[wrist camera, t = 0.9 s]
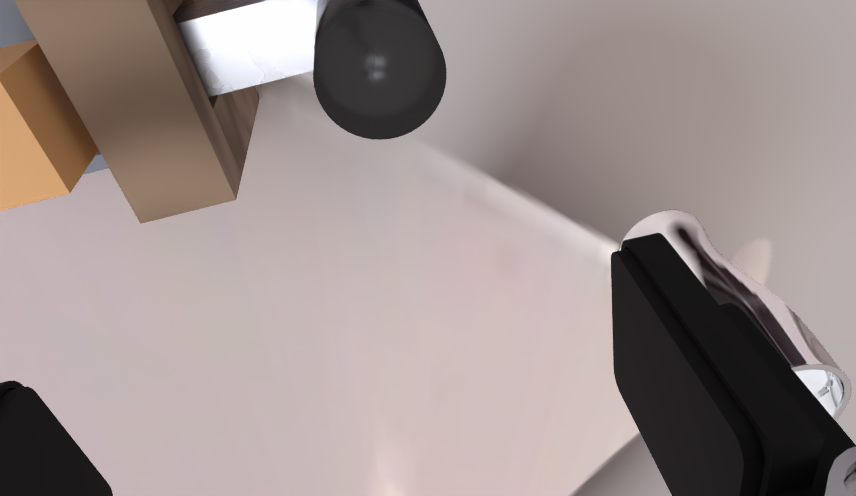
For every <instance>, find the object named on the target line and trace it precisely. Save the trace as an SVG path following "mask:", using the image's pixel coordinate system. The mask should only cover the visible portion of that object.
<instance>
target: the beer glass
mask: <svg viewBox="0 0 856 496" xmlns="http://www.w3.org/2000/svg"><path fill="white" fill-rule="evenodd" d="M654 233H661V234H662V235H663V236H664V237H665V238H666V239H667V240H668V242H669V243H670V244H671V245H672V247H673V248H674V249H675V250H676V252H677V253H678V254H679V255H680V257H681V258H682V259H683V260H684V262H685V263H686V264H687V265H688V267H689V268H690V269H691V270H692V272H693V273H694V274H695V275H696V277H697V278H698V279H699V280H700V282H701V283H702V284H703V285H704V287H705V288H706V289H707V290H708V292H709V293H710V294H711V295H712V297H713V298H714V299H715V300H716V302H717V303H718V304H719V305H721V304H725V303H730V302H731V303H733V304H735V305H737V306H738V307H739V308H740V309H741V310H743V311H744V312H745V314H746V315H747V316H748V317H749V318H750V320H751V321H752V322H753V323H754V324H755V326H756V327H757V328H758V329H759V330H760V332H761V333H762V334H763V335H764V336H765V337H766V339H767V340H768V341H769V342H770V343H771V345H772V346H773V347H774V348H775V349H776V351H777V352H778V353H779V354H780V355H781V357H782V358H783V359H784V360H785V361H786V363H787V364H788V365H789V366H790V367H791V369H792V370H793V371H794V372H795V373H796V374H797V376H798V377H799V378H800V379H801V380H802V382H803V383H804V384H805V385H806V386H807V388H808V389H809V390H810V391H811V392H812V394H813V395H814V396H815V397H816V398H817V400H818V401H819V402H820V403H821V404H822V406H823V407H824V408H825V409H826V410H827V411H828V413H829V414H830V415H831V416H832V417H833V419H834V420H835V421H836V419H838V418H839V416H840V415H841V414H842V413H843V411H844V410H845V408H846V406H847V404H848V402H849V400H850V396H851V383H850V380H849V378H848V377H847V375H846V374H845V373H844V372H843V371H842V370H841V369H840V368H839V367H838V365H837V364H836V363H835V361H834V360H833V359H832V357H831V356H830V355H829V353H828V352H827V351H826V349H825V348H824V347H823V345H822V344H821V343H820V342H819V340H818V339H817V338H816V337H815V336H814V334H813V333H812V332H811V331H810V330H809V329H808V327H807V326H806V325H805V324H804V323H803V321H802V320H801V319H800V318H799V317H798V316H797V315H796V314H795V313H794V312H793V311H792V310H791V309H790V308H789V307H788V306H787V305H786V304H785V303H784V302H783V301H782V300H781V299H779V298H778V297H777V296H776V295H774V294H773V293H772V292H771V291H769V290H768V289H767V288H766V287H764V286H763V285H762V284H760V283H759V282H758V281H756V280H755V279H753V278H752V277H751V276H749V275H748V274H746V273H745V272H743V271H742V270H741V269H739V268H738V267H736V266H735V265H733V264H732V263H731V262H729V261H728V260H727V259H725V258H724V257H723V256H722V255H721V254H720V253H719V252H717V250H716V249H715V248H714V246H713V245H712V244H711V242H710V240H709V238H708V236H707V234H706V232H705V230H704V228H703V226H702V225H701V223H700V222H699V220H698V219H697V218H696V217H694V216H693V215H691V214H689V213H687V212H684V211H680V210H665V211H660V212H657V213H654V214H652V215H649V216H647V217H646V218H644V219H642V220H641V221H639V222H638V223H637V224H635V225H634V226H633V227H632V228H631V229H630V231H629V232H628V233H627V234H626V235H625V237H624V239H623V241H624V240H628V239H632V238H637V237H641V236H645V235H650V234H654ZM623 241H622V242H623ZM621 245H622V243H621ZM621 245H620V248H619V251H621Z"/></svg>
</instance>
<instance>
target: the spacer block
mask: <svg viewBox="0 0 856 496" xmlns="http://www.w3.org/2000/svg"><path fill="white" fill-rule="evenodd" d="M98 151H99V149H98V148H97V146H96V144H95V142H94V141H93V139H92V137H91V135H90V134H89V132H88V130H87V128H86V127H85V125H84V123H83V121H82V119H81V118H80V116H79V114H78V112H77V111H76V109H75V107H74V105H73V104H72V102H71V100H70V98H69V97H68V95H67V93H66V91H65V90H64V88H63V86H62V84H61V83H60V81H59V79H58V77H57V75H56V74H55V72H54V70H53V68H52V67H51V65H50V63H49V61H48V60H47V58H46V56H45V54H44V53H43V51H42V49H41V47H40V46H39V44H38V42H37V40H36V39H34V40H30V41H26V42H22V43H18V44H15V45H11V46H7V47H3V48H0V211H1V210H5V209H9V208H13V207H17V206H21V205H25V204H29V203H33V202H37V201H41V200H45V199H49V198H53V197H57V196H61V195H65V194H69V193H70V192H71V191H72V189H73V188H74V186H75V185H76V183H77V182H78V180H79V179H80V177H81V176H82V174H83V173H84V172H85V170H86V169H87V167H88V166H89V164H90V163H91V161H92V160H93V158H94V157H95V155H96V154H97V152H98Z"/></svg>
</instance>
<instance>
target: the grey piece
mask: <svg viewBox="0 0 856 496" xmlns="http://www.w3.org/2000/svg"><path fill="white" fill-rule="evenodd" d="M172 16H173V18H174V21H175V23H176V25H177V28H178V30H179V32H180V35H181V37H182V39H183V41H184V44H185V46H186V48H187V51H188V53H189V55H190V58H191V60H192V62H193V65H194V67H195V69H196V71H197V74H198V76H199V78H200V81H201V83H202V85H203V88H204V90H205V92H206V94H207V97H212V96H216V95H219V94H223V93H227V92H231V91H235V90H239V89H243V88H247V87H251V86H255V85H259V84H263V83H267V82H271V81H275V80H278V79H282V78H286V77H290V76H294V75H298V74H302V73H306V72H310V71H313V72H314V73H313V79H314V87H315V91H316V95H317V97H318V100H319V102H320V104H321V106H322V107H323V109H324V111H325V112H326V113H327V115H328V116H329V117H330V118H331V119H332V120H333V121H334V122H335V123H336V124H337V125H339V126H340V127H341V128H343V129H344V130H346V131H348V132H350V133H352V134H354V135H357V136H360V137H363V138H369V139H391V138H396V137H399V136H402V135H405V134H407V133H409V132H412V131H413V130H415V129H416V128H418V127H419V126H421V125H422V124H423V123H424V122H425V121H426V120H427V119H428V118H429V117H430V116H431V115H432V114H433V112H434V111H435V110H436V108H437V106H438V105H439V103H440V101H441V98H442V96H443V93H444V89H445V84H446V64H445V59H444V56H443V52H442V50H441V48H440V45H439V43H438V41H437V39H436V37H435V35H434V33H433V31H432V29H431V27H430V25H429V23H428V21H427V19H426V16H425V14H424V12H423V10H422V8H421V6H420V4H419V2H418V0H205V1H201V2H197V3H193V4H189V5H185V6H182V7H178V8H177V10H176V11H175V12H174V14H173V15H172Z"/></svg>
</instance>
